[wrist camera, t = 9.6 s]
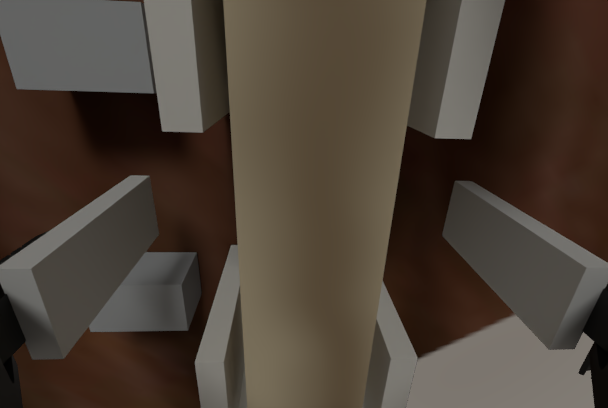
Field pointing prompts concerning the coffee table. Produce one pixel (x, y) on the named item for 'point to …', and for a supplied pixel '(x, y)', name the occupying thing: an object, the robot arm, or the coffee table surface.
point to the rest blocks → (103, 78)
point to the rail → (315, 185)
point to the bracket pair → (215, 104)
